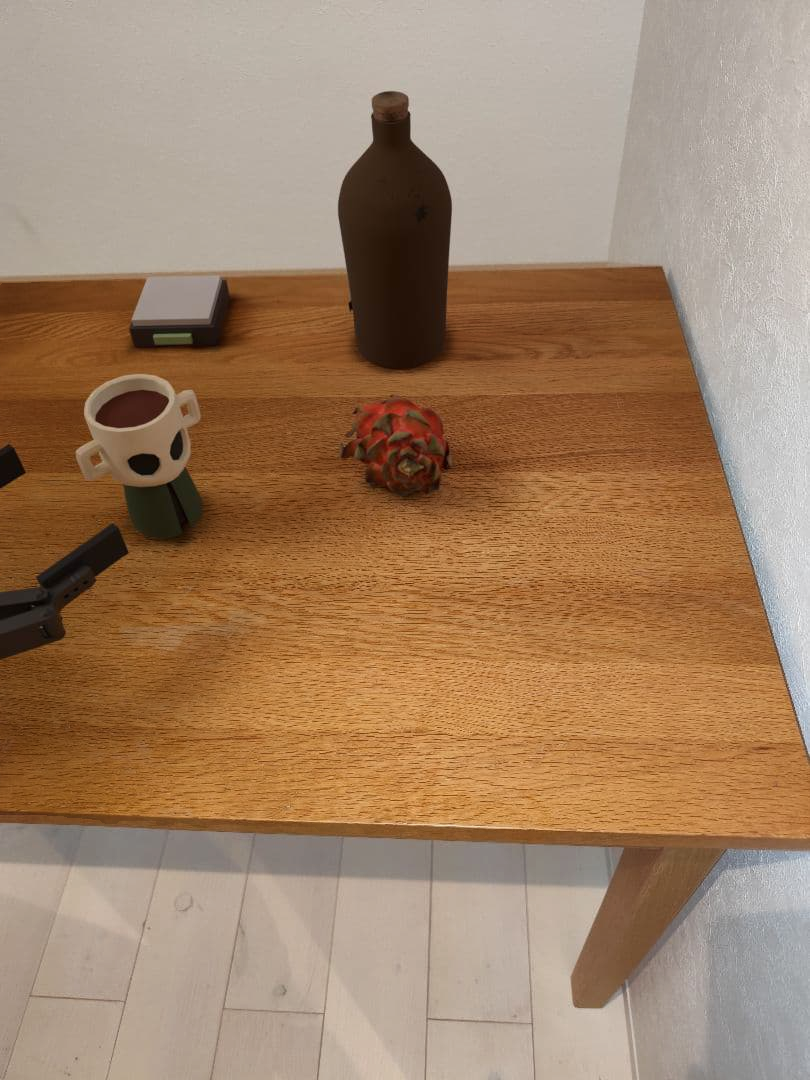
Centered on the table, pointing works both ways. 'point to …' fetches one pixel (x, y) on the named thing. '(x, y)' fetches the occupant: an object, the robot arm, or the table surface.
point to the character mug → (144, 450)
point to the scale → (180, 311)
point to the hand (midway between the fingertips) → (67, 496)
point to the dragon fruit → (399, 446)
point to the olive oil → (396, 242)
